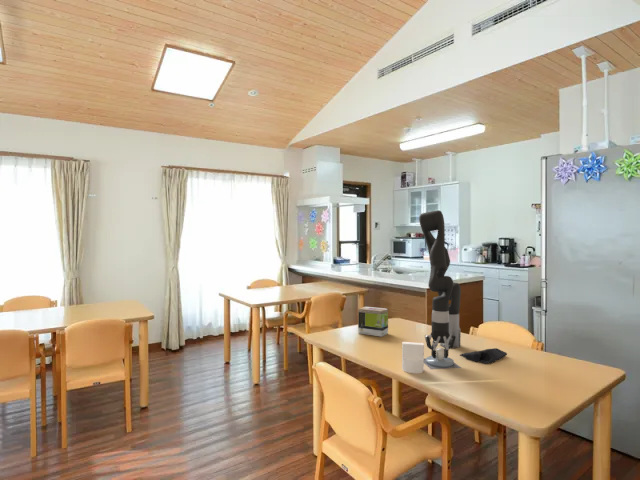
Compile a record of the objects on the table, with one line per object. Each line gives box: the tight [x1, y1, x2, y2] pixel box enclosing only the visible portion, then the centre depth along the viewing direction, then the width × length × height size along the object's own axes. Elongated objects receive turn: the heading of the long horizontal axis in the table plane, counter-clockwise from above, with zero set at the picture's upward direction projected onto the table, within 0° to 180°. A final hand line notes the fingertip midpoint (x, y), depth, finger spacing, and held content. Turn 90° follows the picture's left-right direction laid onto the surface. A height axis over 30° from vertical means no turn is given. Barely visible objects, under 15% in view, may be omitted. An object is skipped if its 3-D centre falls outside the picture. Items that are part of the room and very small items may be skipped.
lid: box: [425, 347, 455, 368], centre depth 184 cm, size 12×12×6 cm
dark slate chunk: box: [459, 348, 508, 365], centre depth 194 cm, size 15×22×5 cm
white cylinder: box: [401, 341, 425, 374], centre depth 175 cm, size 9×9×12 cm
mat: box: [424, 357, 462, 370], centre depth 184 cm, size 14×14×1 cm
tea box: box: [357, 306, 389, 337], centre depth 237 cm, size 15×10×15 cm, turn 58°
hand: (439, 357), depth 184 cm, fingers open, 4 cm apart
